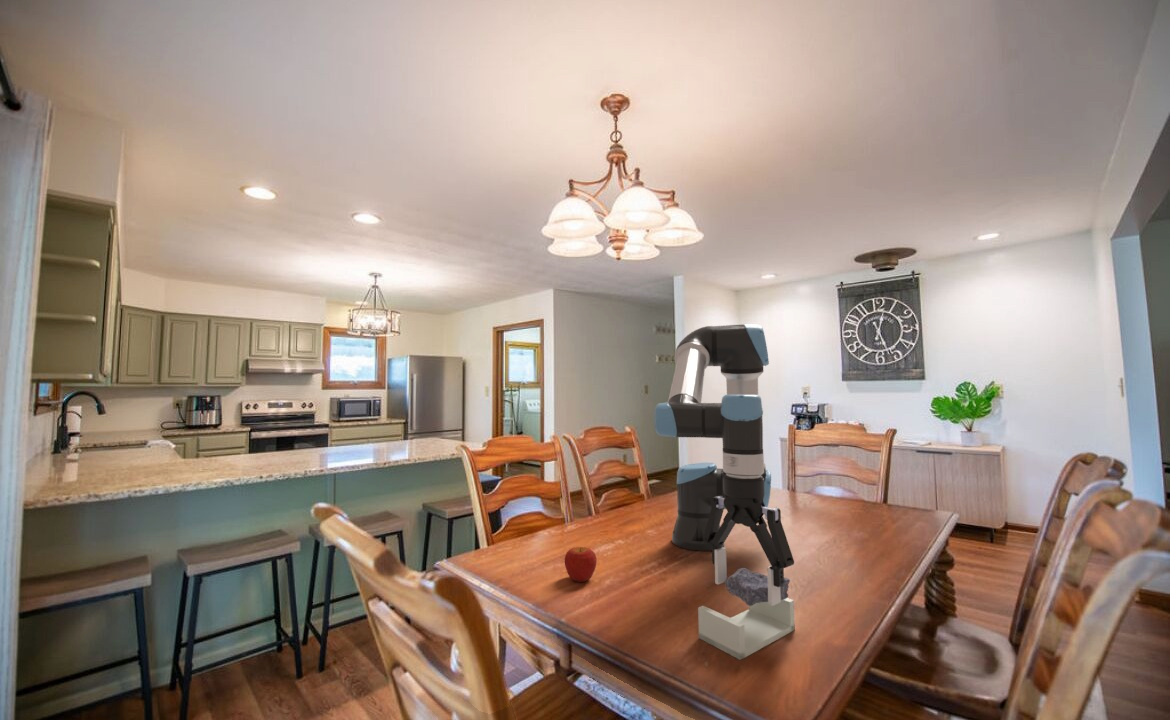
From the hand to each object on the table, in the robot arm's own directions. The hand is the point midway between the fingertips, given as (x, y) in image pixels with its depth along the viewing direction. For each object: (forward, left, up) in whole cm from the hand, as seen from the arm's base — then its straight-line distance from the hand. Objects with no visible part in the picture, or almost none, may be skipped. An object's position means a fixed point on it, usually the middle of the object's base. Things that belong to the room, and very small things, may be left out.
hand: (746, 592), depth 90 cm
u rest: (0, 0, -8) cm, 8 cm away
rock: (0, +2, -1) cm, 2 cm away
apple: (-40, -10, -8) cm, 42 cm away
